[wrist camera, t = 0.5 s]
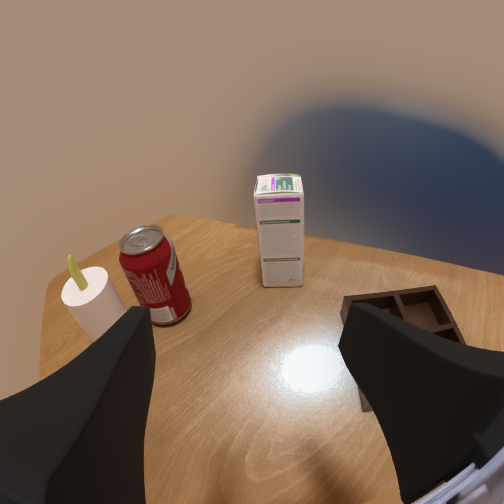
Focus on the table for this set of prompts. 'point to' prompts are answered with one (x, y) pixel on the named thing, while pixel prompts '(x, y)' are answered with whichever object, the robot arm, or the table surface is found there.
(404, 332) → the robot arm
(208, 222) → the table surface
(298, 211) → the syrup box
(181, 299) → the soda can
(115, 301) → the candle
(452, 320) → the grid
